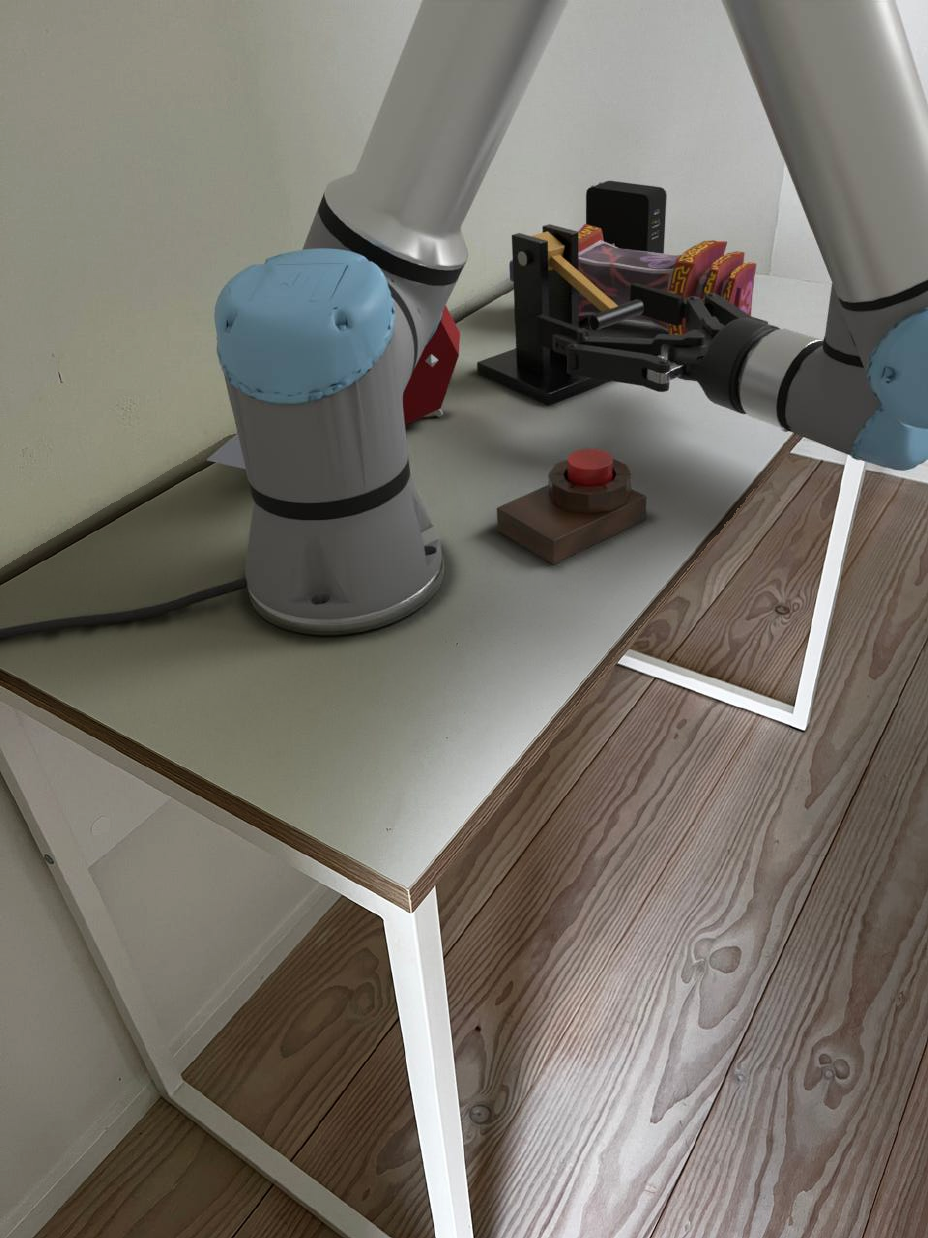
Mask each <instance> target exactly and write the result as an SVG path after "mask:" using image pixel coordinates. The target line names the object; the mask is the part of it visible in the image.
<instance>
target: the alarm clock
mask: <svg viewBox="0 0 928 1238" xmlns="http://www.w3.org/2000/svg"><path fill="white" fill-rule="evenodd" d="M460 340H461V331H460V330H459V328H458V326H457V324H456V322H455V320H454V319H453V316H452V314H451V313H450V311H449V308H448V307H447V304H446V305H445V307H444V309H443V311H442V316H441V319H440V322H439V324H438V326H437V329H436V331H435V333H434V334H433V336H432V338H431V339H430V341H429V342H428V344H427V345H426V346H425V348H424V350H423V352H422V354H421V356H420V358H419V360H418V362H417V364H416V367H415V369H414V371H413V373H412V375H411V378H410V379H409V381H408V383H407V386H406V388H405V390H404V392H403V413H404V422H405V426H406V425H408V424H410V423H412V422H415V421H417V420H419V419H421V418H423V417H426V416H428V415H430V414H434V415H435V416H436V417H438V418H440V417H442V416H443V415H444V412H443V410H442V407H443V403H444V401H445V397H446V395H447V391H448V389H449V386H450V383H451V380H452V377H453V375H454V372H455V369H456V366H457V363H458V359H459V357H460V343H461V342H460Z"/></svg>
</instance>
